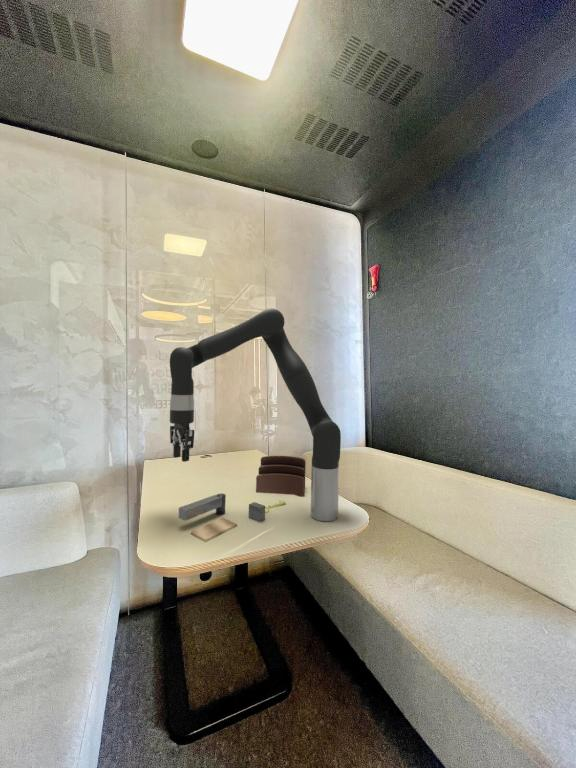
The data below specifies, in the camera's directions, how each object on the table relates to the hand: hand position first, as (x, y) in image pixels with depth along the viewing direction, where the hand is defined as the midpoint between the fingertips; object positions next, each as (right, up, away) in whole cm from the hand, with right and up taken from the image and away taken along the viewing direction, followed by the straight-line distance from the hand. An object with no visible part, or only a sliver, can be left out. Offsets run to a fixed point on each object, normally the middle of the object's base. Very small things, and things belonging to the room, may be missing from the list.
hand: (181, 458), depth 99 cm
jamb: (+17, -20, +1) cm, 27 cm away
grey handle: (+8, -19, -2) cm, 21 cm away
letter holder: (+33, -21, +27) cm, 47 cm away
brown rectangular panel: (+13, -20, -8) cm, 25 cm away
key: (+29, -21, +9) cm, 37 cm away
